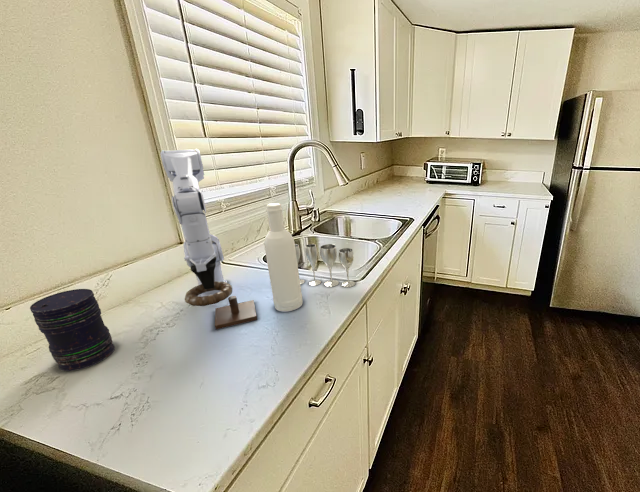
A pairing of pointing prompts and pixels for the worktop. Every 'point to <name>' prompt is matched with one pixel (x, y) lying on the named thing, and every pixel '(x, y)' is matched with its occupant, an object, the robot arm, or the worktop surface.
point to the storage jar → (73, 329)
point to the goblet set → (328, 261)
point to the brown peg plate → (234, 313)
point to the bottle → (282, 262)
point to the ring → (197, 300)
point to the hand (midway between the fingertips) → (209, 285)
